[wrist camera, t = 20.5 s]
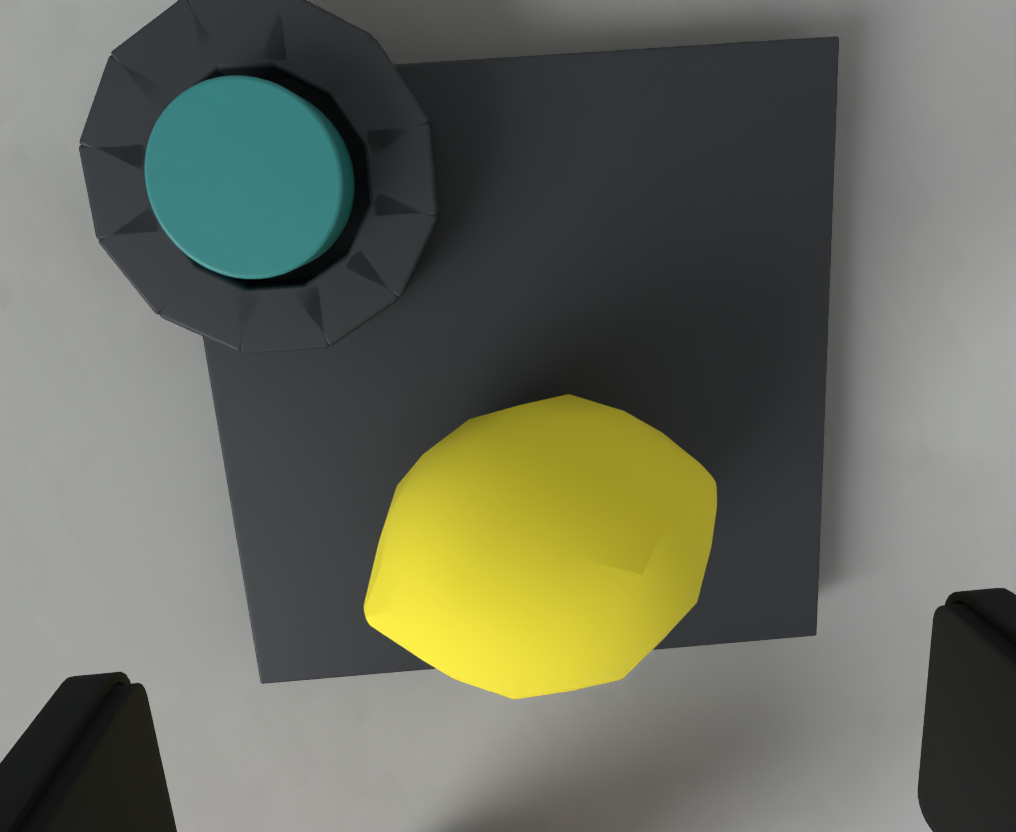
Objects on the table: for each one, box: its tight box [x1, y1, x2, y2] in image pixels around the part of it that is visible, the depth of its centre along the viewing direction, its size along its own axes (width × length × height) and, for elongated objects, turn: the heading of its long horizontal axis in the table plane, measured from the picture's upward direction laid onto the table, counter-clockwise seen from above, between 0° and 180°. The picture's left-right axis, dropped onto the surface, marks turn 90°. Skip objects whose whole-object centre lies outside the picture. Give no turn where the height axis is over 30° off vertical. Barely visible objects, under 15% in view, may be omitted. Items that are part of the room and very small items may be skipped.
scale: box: [79, 0, 839, 684], centre depth 17 cm, size 14×14×3 cm
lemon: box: [364, 394, 717, 699], centre depth 15 cm, size 7×5×5 cm
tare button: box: [145, 75, 355, 279], centre depth 14 cm, size 3×3×2 cm
